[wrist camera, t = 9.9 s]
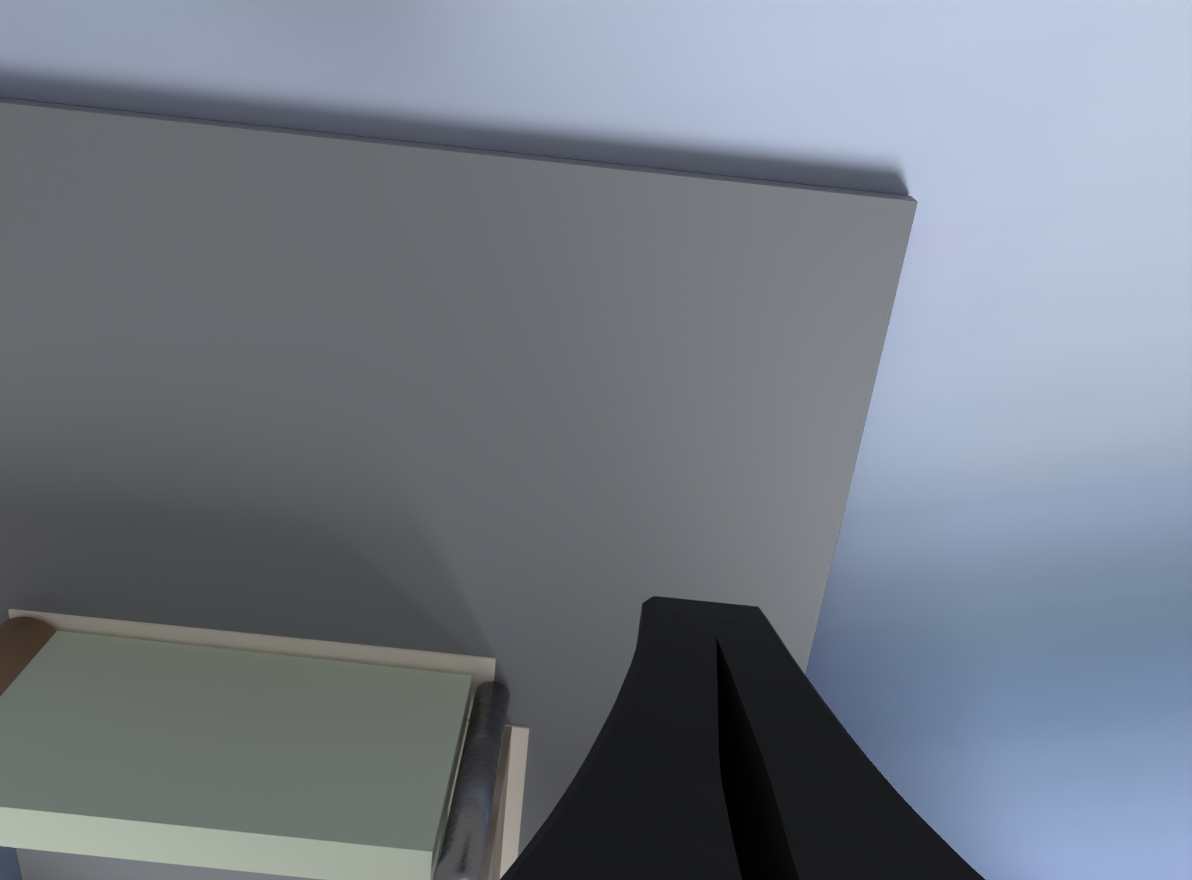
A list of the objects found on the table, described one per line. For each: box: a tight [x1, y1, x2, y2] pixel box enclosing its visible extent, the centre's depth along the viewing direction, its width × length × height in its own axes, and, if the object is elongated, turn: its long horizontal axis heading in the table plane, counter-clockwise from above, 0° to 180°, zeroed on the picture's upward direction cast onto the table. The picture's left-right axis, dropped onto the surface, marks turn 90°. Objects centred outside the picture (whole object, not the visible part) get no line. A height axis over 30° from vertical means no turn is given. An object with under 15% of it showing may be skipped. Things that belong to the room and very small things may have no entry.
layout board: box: [0, 98, 917, 880], centre depth 23 cm, size 19×22×1 cm
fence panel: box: [0, 617, 510, 880], centre depth 20 cm, size 12×2×5 cm, turn 84°
